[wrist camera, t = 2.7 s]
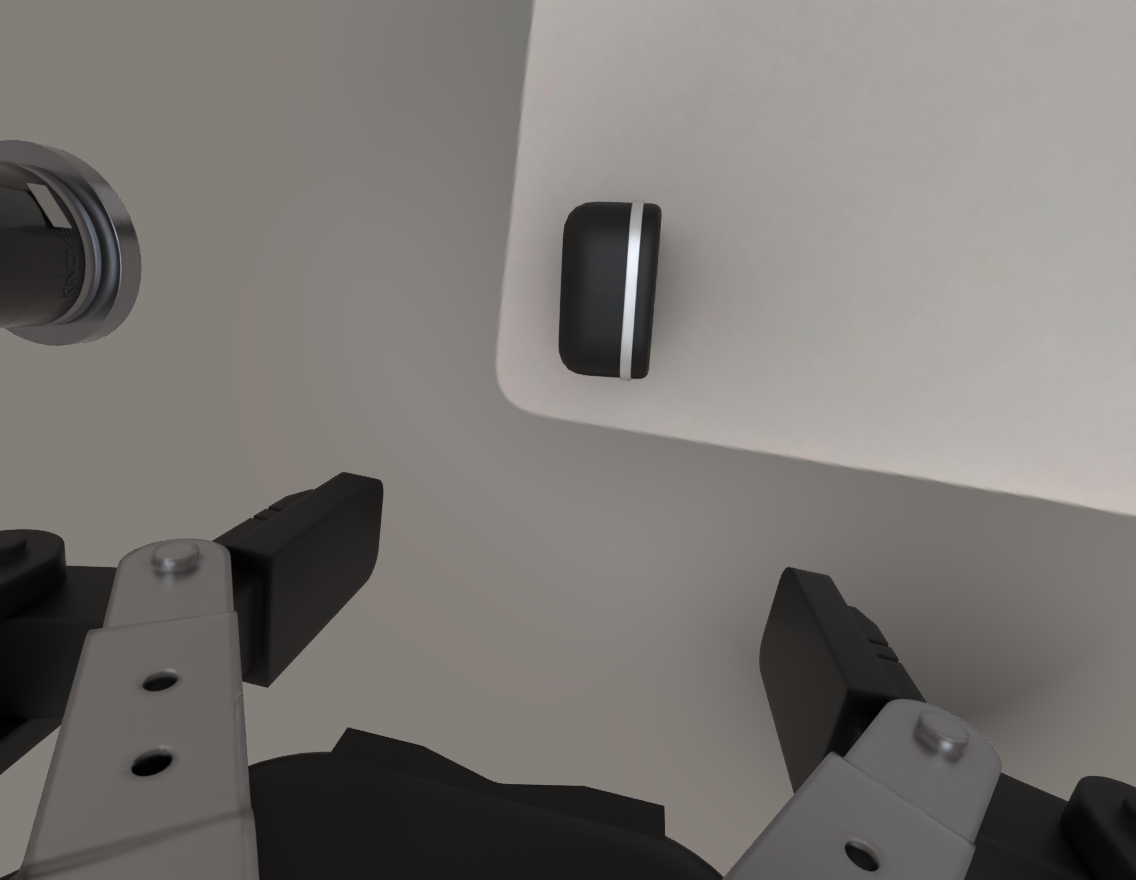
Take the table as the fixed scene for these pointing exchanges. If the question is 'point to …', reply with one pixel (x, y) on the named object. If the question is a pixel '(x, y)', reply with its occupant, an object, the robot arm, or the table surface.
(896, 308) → the table surface
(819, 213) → the table surface
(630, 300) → the battery charger
